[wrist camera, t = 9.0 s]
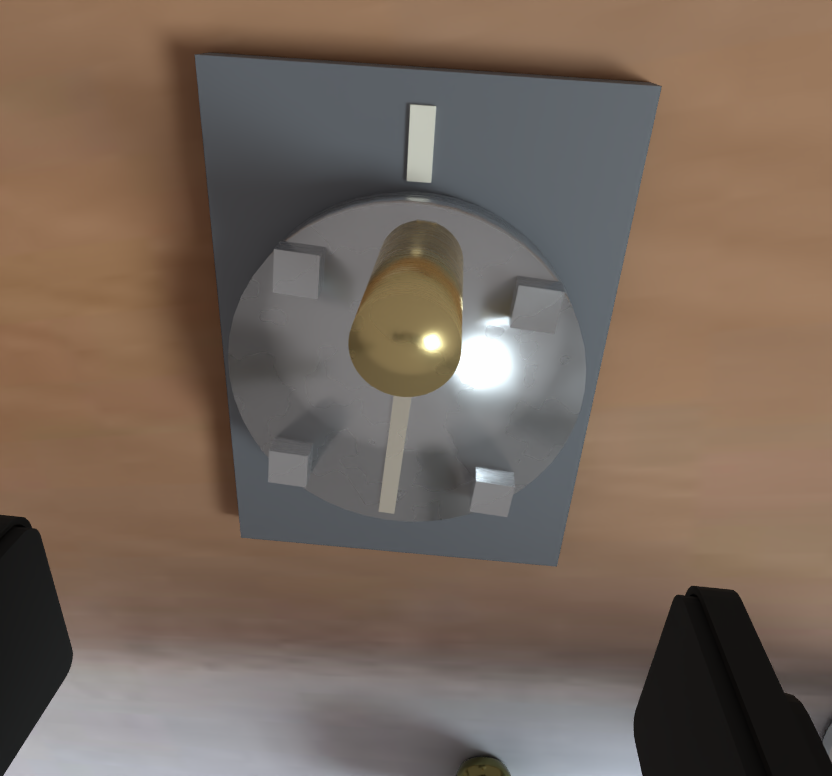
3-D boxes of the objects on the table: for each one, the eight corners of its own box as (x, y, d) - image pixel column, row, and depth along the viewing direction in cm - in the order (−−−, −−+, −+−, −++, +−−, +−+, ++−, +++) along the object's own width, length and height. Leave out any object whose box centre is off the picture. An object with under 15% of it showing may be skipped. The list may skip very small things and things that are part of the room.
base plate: (553, 545, 35) (556, 568, 33) (249, 518, 35) (240, 539, 34) (651, 82, 24) (663, 86, 22) (209, 52, 24) (193, 54, 23)
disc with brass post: (620, 220, 24) (692, 317, 17) (537, 513, 31) (559, 679, 23) (242, 164, 24) (136, 235, 16) (242, 470, 31) (167, 621, 23)
